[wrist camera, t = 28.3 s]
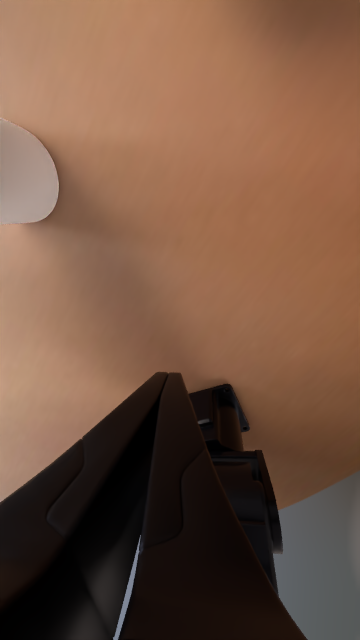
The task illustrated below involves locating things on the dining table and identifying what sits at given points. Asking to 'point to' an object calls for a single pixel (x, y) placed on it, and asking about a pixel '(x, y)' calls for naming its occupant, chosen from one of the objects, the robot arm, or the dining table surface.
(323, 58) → the dining table surface
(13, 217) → the can
